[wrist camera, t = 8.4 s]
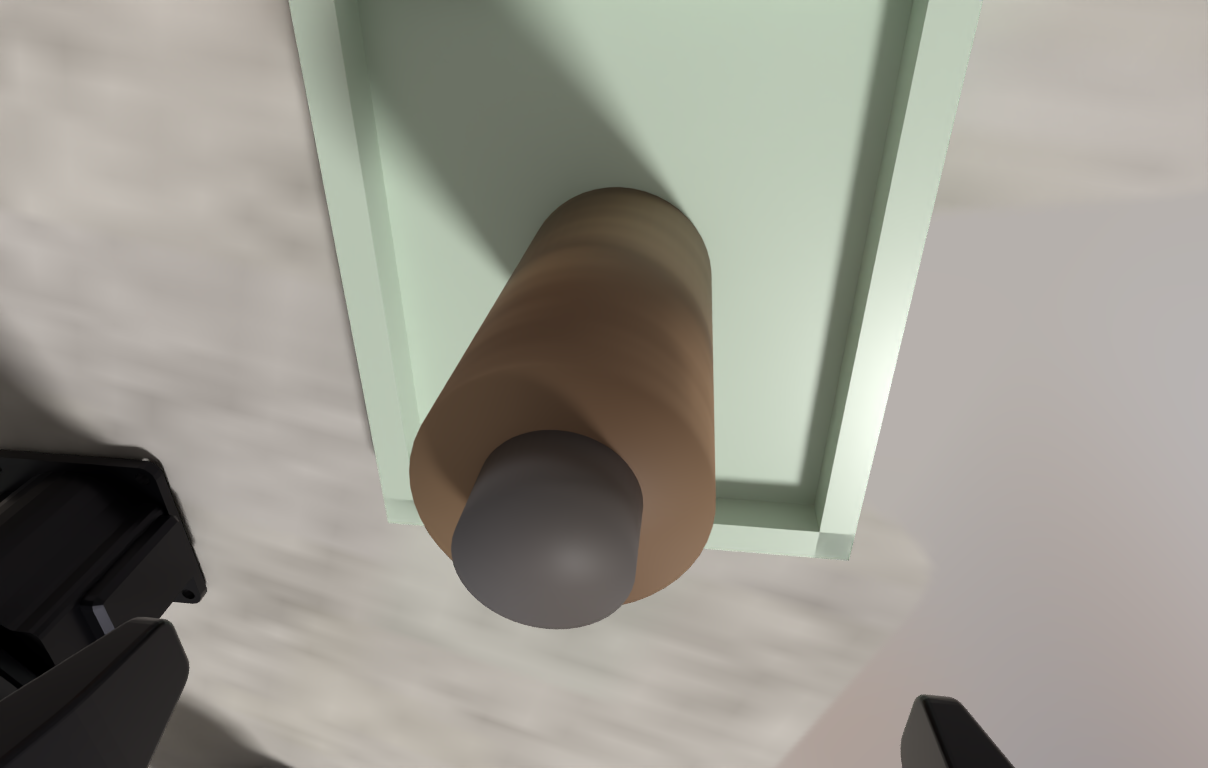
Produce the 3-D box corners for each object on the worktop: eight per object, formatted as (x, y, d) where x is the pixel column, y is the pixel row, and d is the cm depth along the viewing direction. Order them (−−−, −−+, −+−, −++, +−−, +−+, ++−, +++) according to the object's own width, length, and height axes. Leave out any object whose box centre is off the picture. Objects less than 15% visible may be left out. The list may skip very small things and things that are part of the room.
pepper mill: (532, 354, 21) (399, 662, 12) (523, 183, 18) (346, 406, 9) (704, 364, 20) (704, 694, 11) (718, 190, 18) (732, 432, 9)
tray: (409, 482, 25) (388, 523, 23) (316, -84, 16) (271, -88, 15) (838, 515, 23) (848, 560, 22) (969, -83, 15) (1003, -86, 13)
